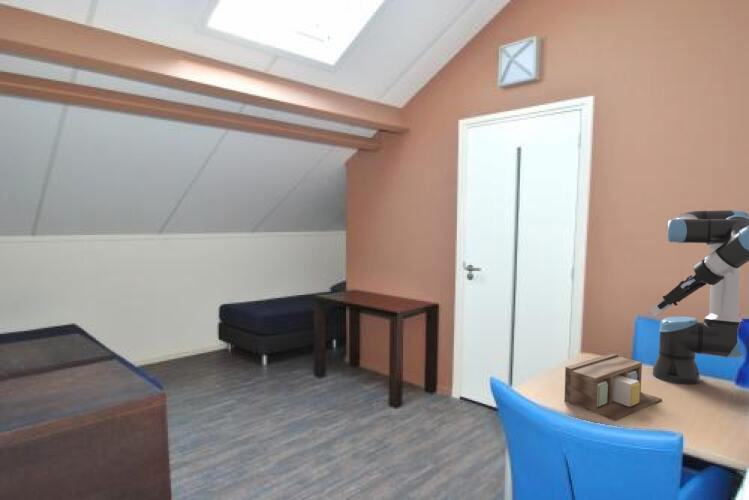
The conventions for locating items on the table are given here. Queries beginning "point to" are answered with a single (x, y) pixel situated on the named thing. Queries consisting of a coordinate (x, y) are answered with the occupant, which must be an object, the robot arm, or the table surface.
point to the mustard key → (625, 390)
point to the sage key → (602, 392)
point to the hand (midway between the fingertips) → (653, 312)
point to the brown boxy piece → (588, 373)
